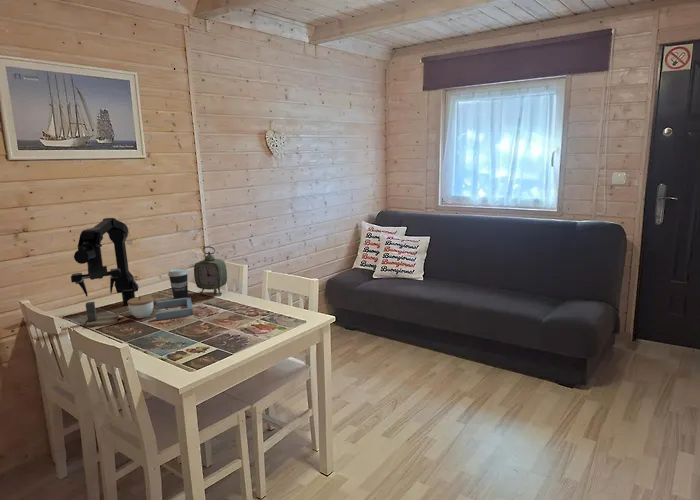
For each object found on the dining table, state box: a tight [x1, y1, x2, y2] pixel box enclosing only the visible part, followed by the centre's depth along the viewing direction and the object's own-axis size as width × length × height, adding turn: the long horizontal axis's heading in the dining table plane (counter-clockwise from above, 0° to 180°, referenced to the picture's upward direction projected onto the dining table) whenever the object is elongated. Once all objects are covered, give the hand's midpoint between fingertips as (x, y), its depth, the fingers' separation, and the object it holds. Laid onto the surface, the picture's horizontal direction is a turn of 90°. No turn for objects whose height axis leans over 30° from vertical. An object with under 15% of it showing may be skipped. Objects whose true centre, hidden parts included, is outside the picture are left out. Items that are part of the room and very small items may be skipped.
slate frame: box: [154, 296, 194, 321], centre depth 219 cm, size 19×16×3 cm
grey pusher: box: [84, 301, 120, 329], centre depth 208 cm, size 12×12×10 cm
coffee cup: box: [167, 267, 189, 299], centre depth 236 cm, size 10×10×15 cm
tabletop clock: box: [193, 245, 228, 296], centre depth 242 cm, size 14×9×25 cm, turn 76°
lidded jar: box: [127, 295, 154, 319], centre depth 214 cm, size 11×11×9 cm
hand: (99, 294), depth 204 cm, fingers open, 9 cm apart
